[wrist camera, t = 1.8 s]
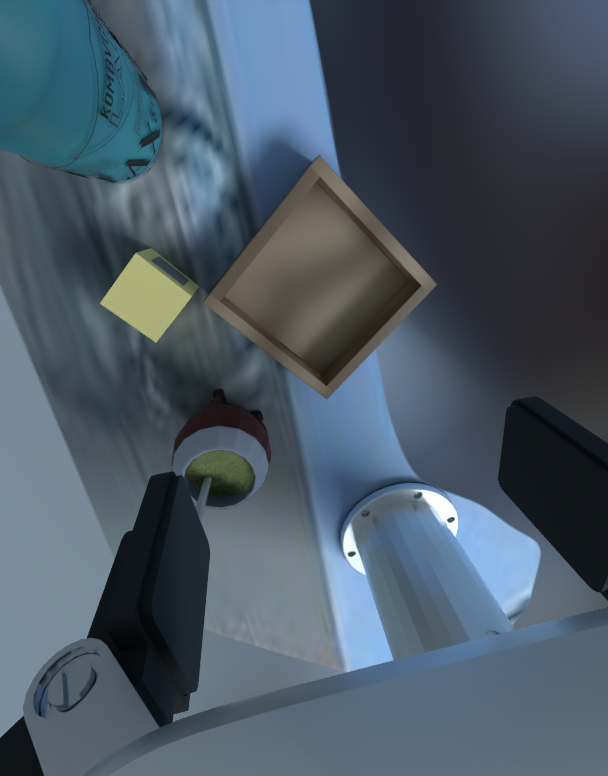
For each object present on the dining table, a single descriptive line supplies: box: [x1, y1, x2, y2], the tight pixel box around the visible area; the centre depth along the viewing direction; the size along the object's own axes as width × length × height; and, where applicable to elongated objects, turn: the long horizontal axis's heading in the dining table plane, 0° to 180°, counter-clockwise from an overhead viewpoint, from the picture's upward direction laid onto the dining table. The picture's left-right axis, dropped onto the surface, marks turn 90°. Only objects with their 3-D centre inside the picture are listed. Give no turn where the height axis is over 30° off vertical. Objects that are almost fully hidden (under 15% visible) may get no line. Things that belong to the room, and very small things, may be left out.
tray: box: [203, 155, 437, 399], centre depth 27 cm, size 12×12×3 cm
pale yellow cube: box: [100, 248, 199, 342], centre depth 26 cm, size 4×4×4 cm
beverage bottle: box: [0, 0, 164, 184], centre depth 14 cm, size 6×7×20 cm
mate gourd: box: [172, 389, 271, 522], centre depth 26 cm, size 8×8×15 cm
